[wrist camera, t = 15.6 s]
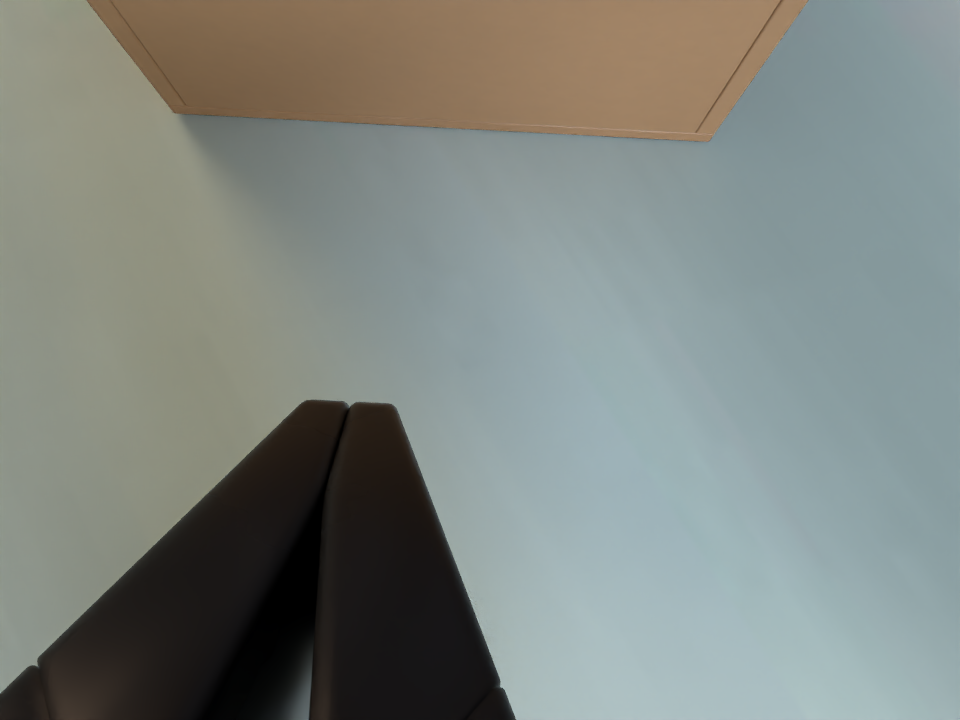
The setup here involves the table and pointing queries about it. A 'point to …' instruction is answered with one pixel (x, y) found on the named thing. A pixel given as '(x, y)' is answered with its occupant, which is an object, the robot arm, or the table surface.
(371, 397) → the table surface
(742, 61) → the carton
